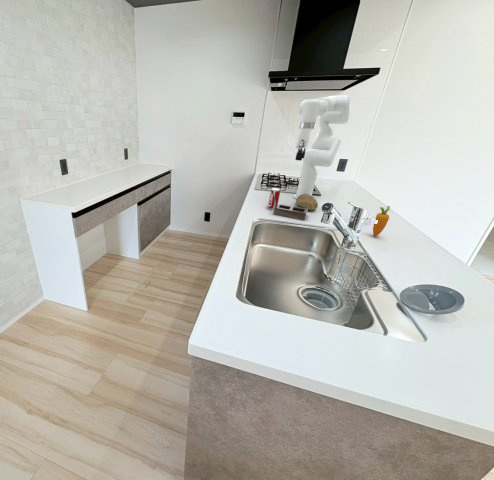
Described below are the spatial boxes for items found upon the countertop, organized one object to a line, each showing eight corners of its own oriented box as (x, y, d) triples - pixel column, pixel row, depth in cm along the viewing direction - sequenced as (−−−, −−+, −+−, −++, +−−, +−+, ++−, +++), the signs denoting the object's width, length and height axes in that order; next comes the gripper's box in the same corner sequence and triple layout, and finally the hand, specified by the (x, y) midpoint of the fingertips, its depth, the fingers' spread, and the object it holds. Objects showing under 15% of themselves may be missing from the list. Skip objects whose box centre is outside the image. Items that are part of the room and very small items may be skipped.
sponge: (296, 202, 170) (291, 204, 153) (301, 191, 167) (297, 191, 150) (316, 210, 164) (313, 213, 148) (322, 198, 161) (320, 200, 145)
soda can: (277, 210, 152) (281, 190, 147) (268, 209, 153) (271, 189, 147) (276, 207, 156) (279, 188, 151) (267, 206, 157) (270, 187, 152)
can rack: (276, 210, 152) (278, 203, 151) (306, 215, 145) (308, 208, 143) (273, 214, 145) (274, 207, 144) (304, 220, 138) (306, 213, 136)
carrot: (371, 238, 120) (383, 207, 113) (366, 233, 124) (378, 203, 117) (383, 239, 119) (396, 208, 112) (378, 235, 123) (390, 204, 116)
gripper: (301, 125, 147) (294, 156, 154) (297, 126, 133) (290, 160, 141) (316, 125, 143) (308, 157, 151) (313, 126, 130) (304, 161, 137)
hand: (299, 159), depth 146 cm, fingers open, 9 cm apart
